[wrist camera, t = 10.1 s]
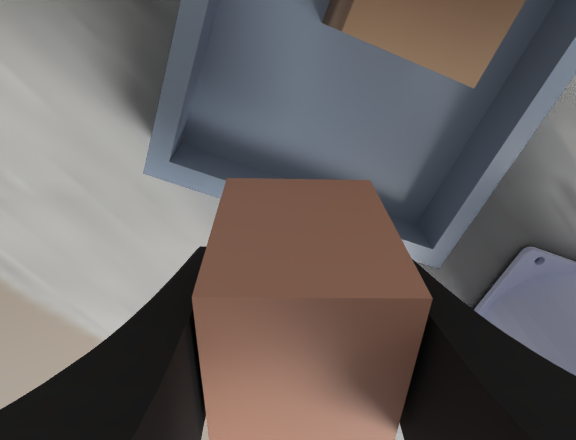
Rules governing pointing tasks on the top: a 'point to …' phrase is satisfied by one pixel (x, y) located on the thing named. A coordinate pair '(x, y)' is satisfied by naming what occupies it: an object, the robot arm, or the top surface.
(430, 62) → the tan block
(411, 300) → the terracotta block
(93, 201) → the top surface
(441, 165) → the tray
